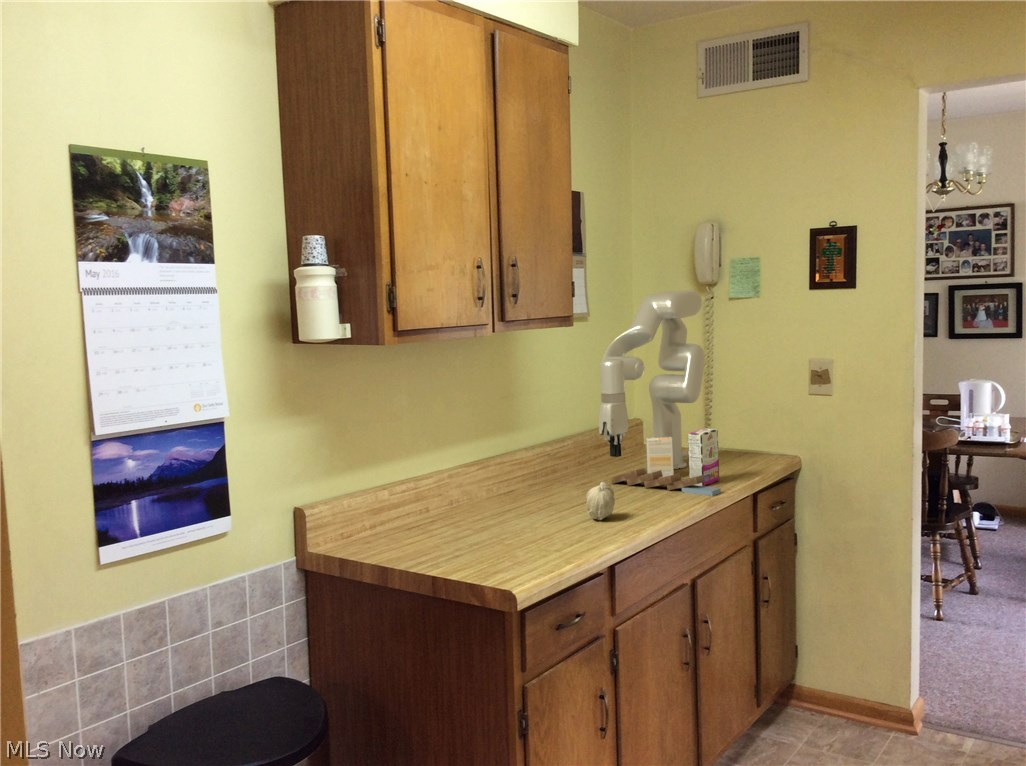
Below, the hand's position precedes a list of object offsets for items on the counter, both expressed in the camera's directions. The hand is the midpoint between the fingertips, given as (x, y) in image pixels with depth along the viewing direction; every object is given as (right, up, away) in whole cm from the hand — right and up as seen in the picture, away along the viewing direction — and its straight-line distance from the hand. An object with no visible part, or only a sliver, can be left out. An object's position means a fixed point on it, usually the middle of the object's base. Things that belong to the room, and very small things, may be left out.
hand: (615, 456), depth 281 cm
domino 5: (+19, -9, -16) cm, 27 cm away
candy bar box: (+27, -8, -6) cm, 28 cm away
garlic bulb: (-9, -13, -48) cm, 50 cm away
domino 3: (+9, -8, -8) cm, 15 cm away
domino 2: (+5, -8, -4) cm, 10 cm away
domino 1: (0, -7, 0) cm, 7 cm away
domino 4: (+15, -8, -13) cm, 21 cm away
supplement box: (+15, -8, +4) cm, 17 cm away
